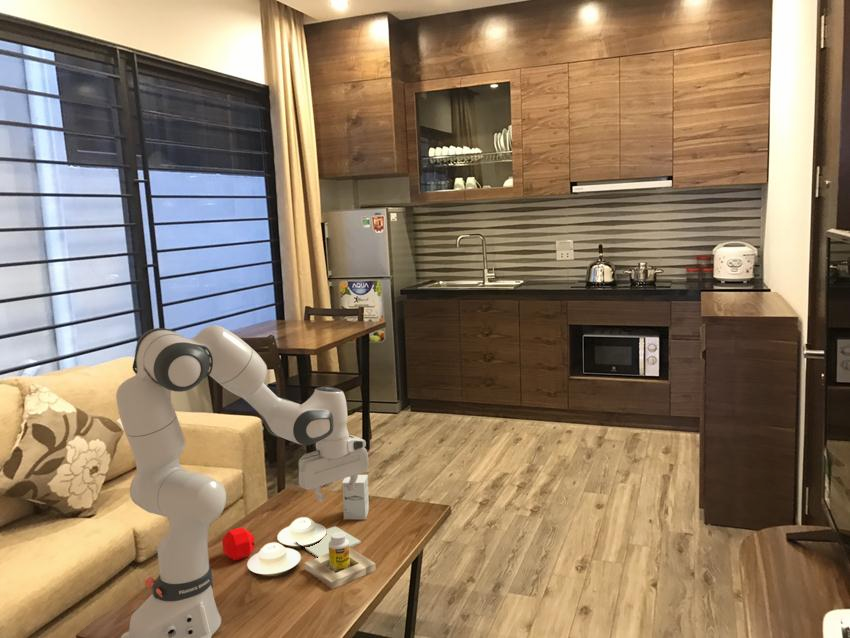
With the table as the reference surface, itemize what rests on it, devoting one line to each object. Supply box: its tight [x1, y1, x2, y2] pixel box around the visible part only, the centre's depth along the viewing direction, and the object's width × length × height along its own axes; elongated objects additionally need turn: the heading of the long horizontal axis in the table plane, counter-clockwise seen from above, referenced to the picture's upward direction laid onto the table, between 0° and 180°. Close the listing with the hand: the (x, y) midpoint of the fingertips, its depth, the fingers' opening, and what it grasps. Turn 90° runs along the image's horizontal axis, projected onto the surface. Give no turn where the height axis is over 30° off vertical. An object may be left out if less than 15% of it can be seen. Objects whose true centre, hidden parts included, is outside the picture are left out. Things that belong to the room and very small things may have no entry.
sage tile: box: [304, 525, 362, 558], centre depth 204 cm, size 14×14×1 cm
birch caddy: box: [304, 547, 377, 590], centre depth 187 cm, size 14×14×2 cm
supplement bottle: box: [329, 532, 351, 573], centre depth 187 cm, size 6×6×10 cm
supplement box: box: [341, 474, 370, 521], centre depth 221 cm, size 7×7×13 cm
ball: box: [222, 526, 256, 562], centre depth 197 cm, size 8×8×8 cm
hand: (336, 495), depth 184 cm, fingers open, 8 cm apart
